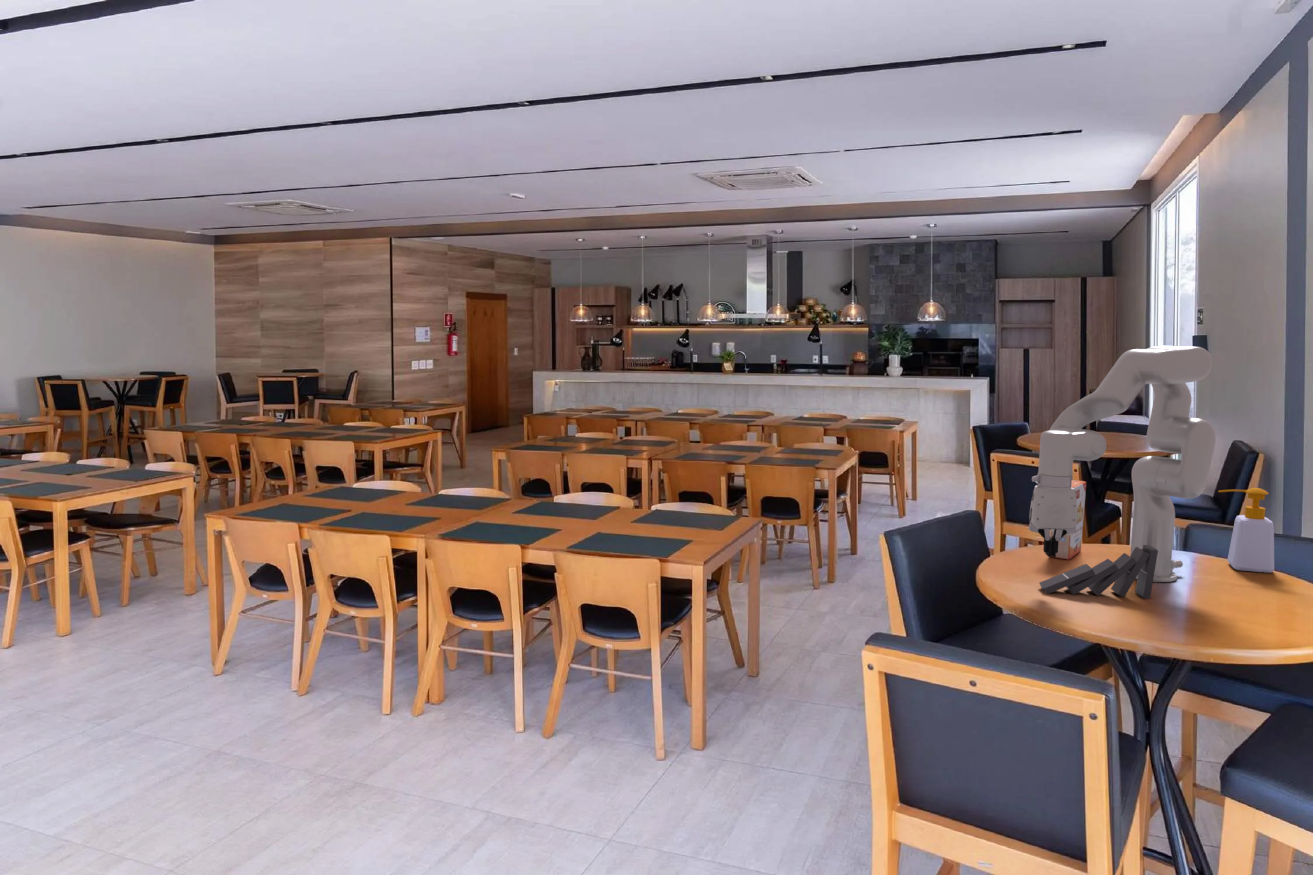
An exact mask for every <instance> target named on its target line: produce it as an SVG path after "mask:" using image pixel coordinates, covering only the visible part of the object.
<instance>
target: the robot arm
mask: <svg viewBox="0 0 1313 875" xmlns="http://www.w3.org/2000/svg"><path fill="white" fill-rule="evenodd" d="M1212 367H1213V359H1212V355H1211V354H1210V352H1209V351H1208V350H1207V349H1205V348H1203V347H1201V346H1181V345H1180V346H1177V345H1175V346H1174V345H1157V346H1151V347H1148V348H1145V349H1144V348H1142V349H1141V348H1135V349H1128V350H1127V351H1124V352H1123V353H1122V354H1121V355H1120V356H1119V357H1118V359H1117V360H1116V362H1115V363H1114V365H1113V366H1111V368H1110V370H1109V371H1108V373H1107V374H1106V376H1105V377H1104V378H1103V380H1102V381H1101V382H1100V384H1099V386H1098V387H1097V388H1096V389H1095V390H1094V391H1093V392H1092V393H1089V394H1087V395H1086V396H1084V397H1082V398H1081V399H1079V400H1077V401H1076V402H1074V403H1072V404H1071V405H1070V406H1068V407H1067V408H1066V409H1064V410H1063V411H1062V412H1061V413H1060V414H1059V415H1058V416H1057V419H1055V421H1054V422H1053V424H1052V425H1051V426H1050V428H1049V430H1045V431H1042V433H1041V434H1040V438H1039V439H1040V440H1039V455H1038V456H1039V459H1038V471H1037V475H1034V476H1032V477H1031V481H1032V482H1035V483H1036V485H1035V486H1034V489H1033V492H1032V497H1031V501H1030V508H1029V517H1028V518H1029V525H1028V530H1029V531H1030V532H1032V533H1033V532H1034V533H1037V534H1039V535H1040V536H1041V537H1042V538H1043V552H1044V553H1045V555H1046V556H1047V557H1049V558H1054V557H1056V553H1058V543H1059V541H1060V540H1061V538H1062V537H1063V536H1064V535H1066V534H1070V533H1075V532H1076V529H1075V528H1076V525H1077V500H1076V492H1075V488H1072V487H1071V485H1072V480H1073V465H1074V461H1075V460H1076V461H1085V462H1092V461H1095V460H1098V459H1099V458H1101V457H1102V456H1103V455H1104V454H1105V453H1106V451H1107V450H1106V449H1107V441H1106V439H1105V437H1104V436H1103V435H1102V434H1101V433H1099V431H1095V430H1092V429H1085V428H1084V427H1085V426H1087V425H1089V424H1091V423H1093V422H1096V421H1099V420H1102V419H1106V418H1111V417H1114V416H1117V415H1120V414H1122V413H1124V412H1126V411H1127V410H1128V409H1129V408H1130V405H1132V403H1133V402H1134V401H1135V399H1136V397H1137V396H1138V394H1140V392H1141V390H1142V389H1143V388H1144V386H1145V385H1149V384H1150V385H1151V387H1152V391H1153V402H1152V408H1151V412H1150V418H1149V423H1148V425H1147V426H1148V427H1147V431H1146V444H1147V446H1149V448H1151V449H1152V450H1155V451H1158V452H1163V453H1170V454H1176V455H1177V454H1178V455H1181V456H1180V457H1181V459H1178V458H1172V457H1166V456H1165V457H1164V456H1159V455H1156V456H1155V455H1148V456H1143V457H1140V458H1139V459H1138V460H1136V461H1135V462H1134V464H1133V466H1132V467H1131V483H1132V484H1131V485H1132V489H1133V490H1132V491H1133V514H1132V524H1131V525H1132V527H1131V540H1130V554H1129V556H1131V554H1132V552H1133V551H1134V549H1135V547H1138V548H1140V549H1142V548H1143V545H1150V546H1152V547H1153V548H1155V549H1157V550H1158V554H1157V560H1156V566H1155V572H1154V578H1153V583H1170V582H1176V581H1177V579H1178V575H1177V573H1175V572H1173V570H1174V569H1175V568H1176V569H1179V568H1182V567H1183V566H1184V563H1183V561H1182V560H1180V559H1178V560H1174V559H1172V557H1173V556H1172V555H1173V545H1174V532H1175V531H1174V530H1175V519H1176V512H1175V511H1176V510H1175V505H1174V502H1173V501H1172V499H1171V497H1173V498H1179V499H1186V500H1192V499H1195V498H1198V497H1199V496H1201V494H1203V492H1204V490H1205V488H1206V486H1207V483H1208V479H1209V475H1210V470H1211V465H1212V461H1213V456H1214V452H1215V447H1216V430H1215V428H1214V426H1213V425H1212V424H1211V423H1210V422H1209V421H1208V420H1205V419H1202V418H1198V417H1190V411H1191V406H1192V394H1191V391H1190V388H1189V387H1188V385H1187V383H1195V382H1200V381H1201V380H1203V379H1205V378H1206V377H1208V375H1209V374H1210V373H1211V371H1212ZM1083 428H1084V429H1083ZM1051 529H1054V531H1053V536H1052V538H1051V537H1050V534H1051ZM1051 556H1053V557H1051ZM1137 579H1138V575H1137V577H1136V578H1135V580H1137Z"/></svg>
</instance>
